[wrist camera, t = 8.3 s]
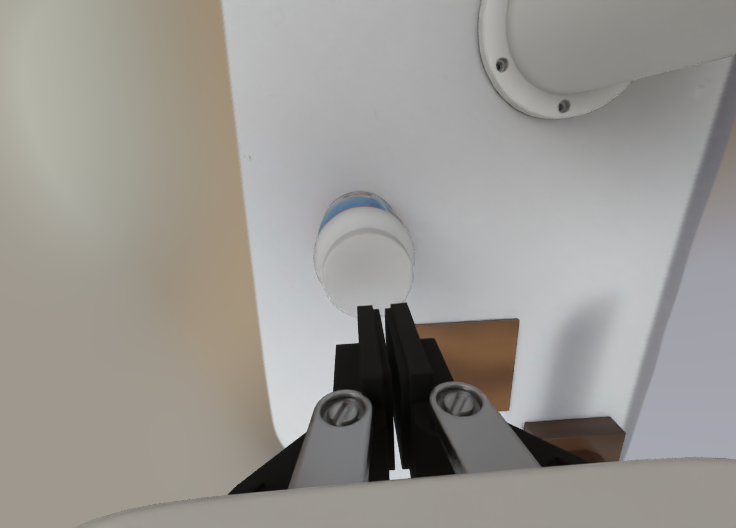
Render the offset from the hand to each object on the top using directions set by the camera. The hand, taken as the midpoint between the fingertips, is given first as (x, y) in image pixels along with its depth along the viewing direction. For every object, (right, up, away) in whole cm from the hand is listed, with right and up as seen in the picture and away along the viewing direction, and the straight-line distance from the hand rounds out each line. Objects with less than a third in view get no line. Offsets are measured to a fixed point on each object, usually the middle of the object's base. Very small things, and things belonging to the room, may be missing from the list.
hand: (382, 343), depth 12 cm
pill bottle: (-1, +6, +16) cm, 17 cm away
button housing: (+20, -18, +25) cm, 37 cm away
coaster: (+8, -7, +21) cm, 24 cm away
